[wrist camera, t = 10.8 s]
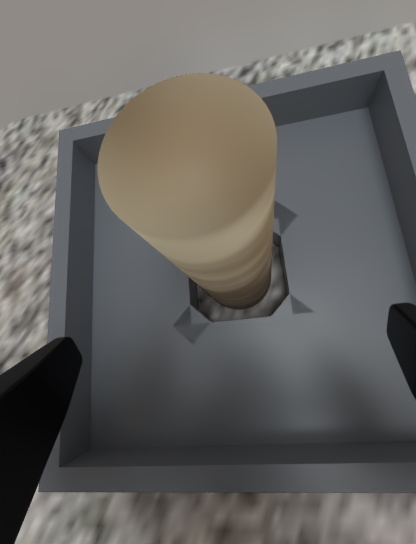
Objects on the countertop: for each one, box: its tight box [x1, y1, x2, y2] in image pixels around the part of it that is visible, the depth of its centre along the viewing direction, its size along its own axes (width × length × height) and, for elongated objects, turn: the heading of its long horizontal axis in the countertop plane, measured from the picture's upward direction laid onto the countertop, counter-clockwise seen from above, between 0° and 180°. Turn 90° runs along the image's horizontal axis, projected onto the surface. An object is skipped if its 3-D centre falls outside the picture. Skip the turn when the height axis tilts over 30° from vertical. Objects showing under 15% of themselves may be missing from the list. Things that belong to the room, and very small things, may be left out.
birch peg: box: [98, 73, 277, 309], centre depth 12 cm, size 4×4×13 cm
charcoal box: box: [39, 51, 416, 493], centre depth 17 cm, size 20×20×4 cm
